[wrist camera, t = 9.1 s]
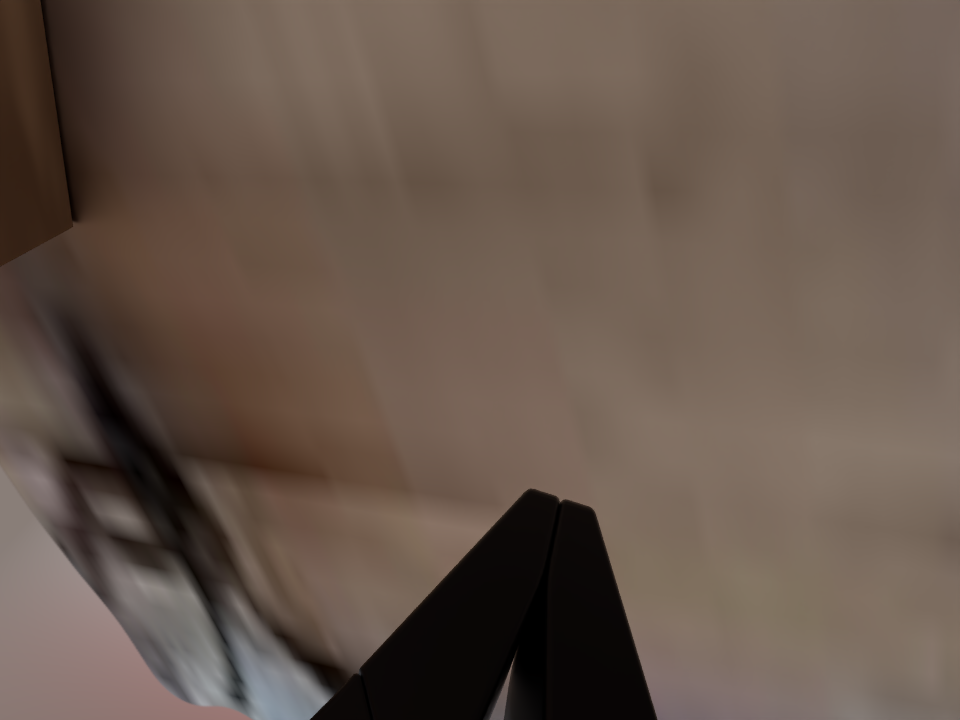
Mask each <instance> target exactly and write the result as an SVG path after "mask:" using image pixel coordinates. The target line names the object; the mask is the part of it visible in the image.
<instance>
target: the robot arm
mask: <svg viewBox="0 0 960 720" xmlns="http://www.w3.org/2000/svg"><path fill="white" fill-rule="evenodd" d="M559 503H560V504H559ZM514 656H515V657H514ZM513 659H514V661H513ZM512 661H513V665H512V670H511V676H510V682H509V688H508V695H507V702H506V709H505V716H504V720H657V716H656V713H655V710H654V706H653V703H652V700H651V696H650V693H649V690H648V686H647V683H646V680H645V676H644V673H643V670H642V666H641V663H640V660H639V656H638V653H637V650H636V646H635V643H634V640H633V636H632V633H631V630H630V626H629V623H628V620H627V616H626V613H625V610H624V606H623V603H622V600H621V596H620V593H619V590H618V586H617V583H616V580H615V576H614V573H613V570H612V566H611V563H610V560H609V556H608V553H607V550H606V547H605V543H604V540H603V537H602V533H601V530H600V527H599V523H598V520H597V517H596V514H595V511H594V510H593V509H592V508H591V507H589V506H586V505H582V504H579V503H576V502H573V501H570V500H566V499H565V500H562V501H561V502H560V501H559V498H558V497H557V496H554V495H551V494H548V493H545V492H542V491H539V490H535V489H528V490H527V491H525V492H524V493H523V494H522V496H521V497H520V498H519V499H518V500H517V501H516V502H515V503H514V504H513V505H512V506H511V507H510V508H509V509H508V510H507V512H506V513H505V514H504V515H503V516H502V517H501V518H500V519H499V520H498V521H497V522H496V523H495V524H494V525H493V527H492V528H491V529H490V530H489V531H488V532H487V533H486V534H485V535H484V536H483V537H482V538H481V539H480V540H479V541H478V543H477V544H476V545H475V546H474V547H473V548H472V549H471V550H470V551H469V552H468V553H467V554H466V555H465V556H464V558H463V559H462V560H461V561H460V562H459V563H458V564H457V565H456V566H455V567H454V568H453V569H452V570H451V571H450V572H449V574H448V575H447V576H446V577H445V578H444V579H443V580H442V581H441V582H440V583H439V584H438V585H437V586H436V587H435V589H434V590H433V591H432V592H431V593H430V594H429V595H428V596H427V597H426V598H425V599H424V600H423V601H422V602H421V603H420V605H419V606H418V607H417V608H416V609H415V610H414V611H413V612H412V613H411V614H410V615H409V616H408V617H407V618H406V620H405V621H404V622H403V623H402V624H401V625H400V626H399V627H398V628H397V629H396V630H395V631H394V632H393V633H392V634H391V636H390V637H389V638H388V639H387V640H386V641H385V642H384V643H383V644H382V645H381V646H380V647H379V648H378V649H377V651H376V652H375V653H374V654H373V655H372V656H371V657H370V658H369V659H368V660H367V661H366V662H365V663H364V664H363V665H362V667H361V668H360V669H359V674H357V673H356V674H354V675H353V676H352V677H351V678H350V679H349V680H348V681H347V682H346V683H345V684H344V685H343V686H342V687H341V688H340V689H339V691H338V692H337V693H336V694H335V695H334V696H333V697H332V698H331V699H330V700H329V701H328V702H327V703H326V704H325V705H324V706H323V707H322V708H321V709H320V710H319V711H318V712H317V713H316V714H315V715H314V716H313V717H312V718H311V719H310V720H490V717H491V715H492V713H493V710H494V708H495V705H496V703H497V700H498V698H499V695H500V693H501V691H502V688H503V686H504V683H505V680H506V678H507V675H508V672H509V670H510V667H511V664H512Z"/></svg>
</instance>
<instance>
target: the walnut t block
mask: <svg viewBox="0 0 960 720" xmlns="http://www.w3.org/2000/svg"><path fill="white" fill-rule="evenodd" d="M72 227H73V223H72V216H71V209H70V202H69V195H68V188H67V182H66V175H65V168H64V161H63V154H62V147H61V140H60V133H59V126H58V119H57V112H56V105H55V99H54V92H53V85H52V78H51V71H50V64H49V57H48V50H47V43H46V36H45V29H44V22H43V15H42V9H41V2H40V0H0V266H2V265H4V264H6V263H8V262H9V261H11V260H13V259H15V258H17V257H19V256H20V255H22V254H24V253H26V252H28V251H30V250H31V249H33V248H35V247H37V246H39V245H41V244H42V243H44V242H46V241H48V240H50V239H52V238H53V237H55V236H57V235H59V234H61V233H63V232H64V231H66V230H68V229H70V228H72Z"/></svg>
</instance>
